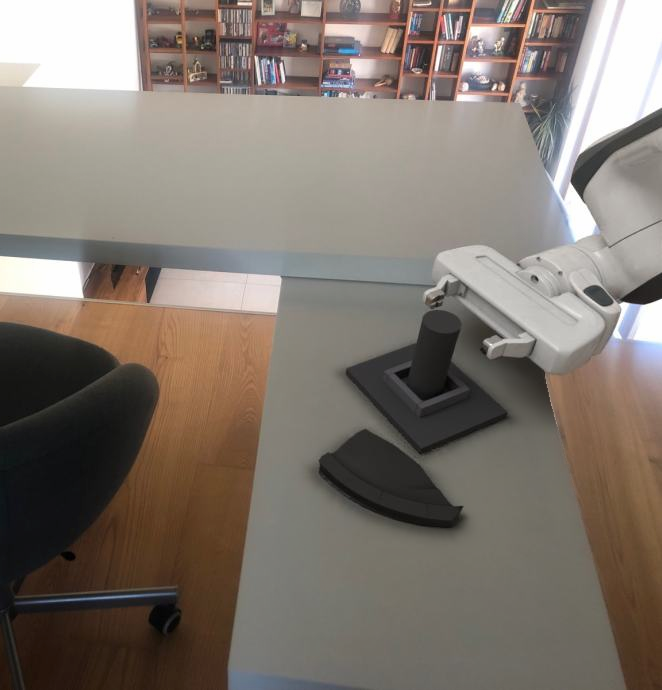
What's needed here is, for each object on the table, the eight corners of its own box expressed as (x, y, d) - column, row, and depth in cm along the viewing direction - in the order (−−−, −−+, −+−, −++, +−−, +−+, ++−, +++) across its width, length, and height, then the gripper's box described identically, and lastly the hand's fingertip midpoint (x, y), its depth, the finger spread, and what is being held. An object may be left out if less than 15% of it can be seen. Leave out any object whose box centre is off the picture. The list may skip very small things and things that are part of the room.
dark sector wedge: (421, 557, 65) (424, 547, 64) (313, 471, 73) (314, 461, 72) (472, 508, 69) (476, 498, 68) (364, 431, 77) (366, 421, 76)
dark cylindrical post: (449, 391, 80) (469, 324, 73) (424, 405, 78) (442, 338, 72) (423, 371, 82) (441, 305, 76) (399, 384, 81) (414, 317, 74)
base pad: (505, 417, 78) (511, 402, 76) (419, 454, 74) (424, 439, 72) (424, 344, 87) (428, 329, 86) (345, 374, 84) (347, 358, 82)
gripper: (492, 223, 85) (400, 252, 80) (635, 317, 71) (533, 358, 66) (479, 265, 89) (391, 295, 84) (612, 362, 75) (515, 404, 70)
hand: (455, 324), depth 75 cm, fingers open, 8 cm apart
